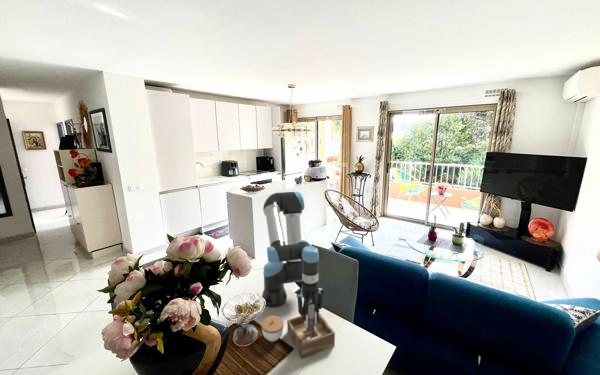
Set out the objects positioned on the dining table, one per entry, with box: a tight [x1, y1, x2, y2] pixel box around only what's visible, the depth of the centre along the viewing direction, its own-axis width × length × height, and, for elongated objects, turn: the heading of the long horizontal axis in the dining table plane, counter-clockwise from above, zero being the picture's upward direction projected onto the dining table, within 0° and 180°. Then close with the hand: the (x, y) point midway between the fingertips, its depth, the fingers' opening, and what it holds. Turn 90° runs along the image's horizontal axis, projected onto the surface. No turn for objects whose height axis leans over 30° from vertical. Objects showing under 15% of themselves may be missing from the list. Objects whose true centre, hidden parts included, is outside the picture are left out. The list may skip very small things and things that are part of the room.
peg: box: [306, 299, 315, 332], centre depth 118 cm, size 4×4×14 cm
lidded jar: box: [260, 315, 285, 343], centre depth 122 cm, size 11×11×9 cm
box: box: [286, 311, 336, 360], centre depth 120 cm, size 17×17×7 cm
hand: (310, 323), depth 119 cm, fingers closed on peg, 4 cm apart
